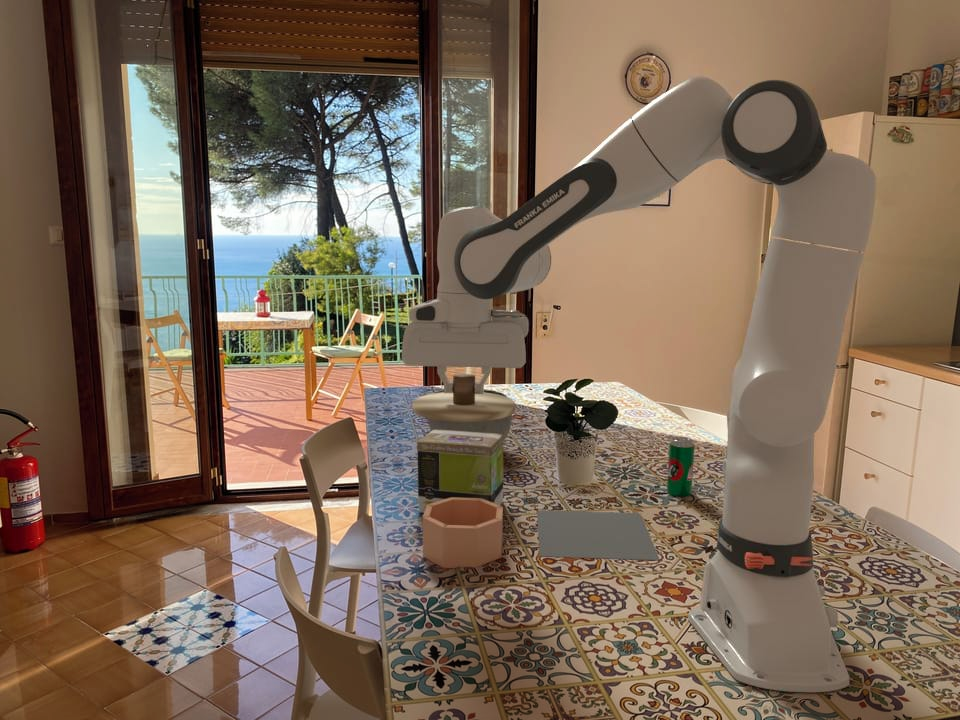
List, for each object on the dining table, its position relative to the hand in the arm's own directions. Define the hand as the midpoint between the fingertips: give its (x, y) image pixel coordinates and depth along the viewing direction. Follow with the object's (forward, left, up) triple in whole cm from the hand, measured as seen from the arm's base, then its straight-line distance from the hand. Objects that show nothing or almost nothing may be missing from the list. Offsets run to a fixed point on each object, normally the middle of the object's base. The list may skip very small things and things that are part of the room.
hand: (463, 393), depth 116 cm
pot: (0, 0, -28) cm, 28 cm away
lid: (0, 0, -3) cm, 3 cm away
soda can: (+30, -43, -28) cm, 59 cm away
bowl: (+55, +3, -28) cm, 62 cm away
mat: (+8, -23, -28) cm, 37 cm away
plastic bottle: (+40, -58, -28) cm, 76 cm away
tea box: (+19, +2, -28) cm, 34 cm away
